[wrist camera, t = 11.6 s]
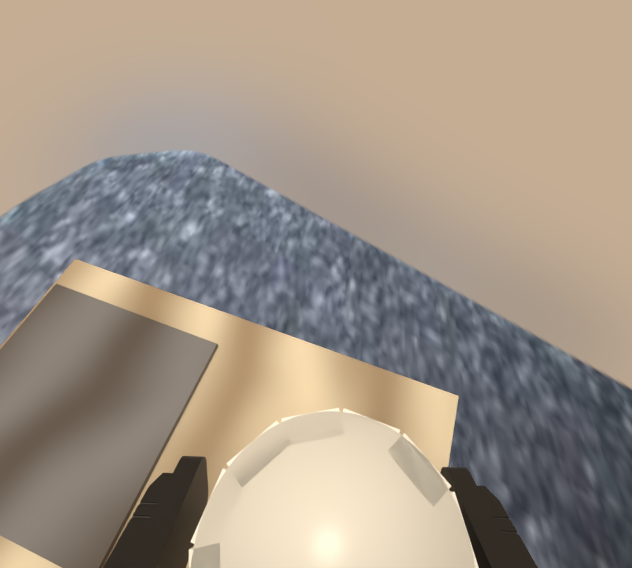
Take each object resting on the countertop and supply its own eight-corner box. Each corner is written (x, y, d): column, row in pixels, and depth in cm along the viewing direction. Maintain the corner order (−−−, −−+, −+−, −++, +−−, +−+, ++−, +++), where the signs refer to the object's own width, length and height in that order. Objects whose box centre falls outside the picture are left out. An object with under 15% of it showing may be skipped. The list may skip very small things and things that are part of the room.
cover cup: (327, 410, 18) (343, 363, 10) (419, 524, 15) (536, 582, 8) (222, 504, 16) (136, 540, 8) (311, 653, 13) (316, 919, 5)
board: (-113, 517, 16) (-161, 523, 15) (88, 270, 23) (71, 255, 22) (384, 789, 13) (396, 838, 11) (448, 400, 20) (461, 394, 18)
